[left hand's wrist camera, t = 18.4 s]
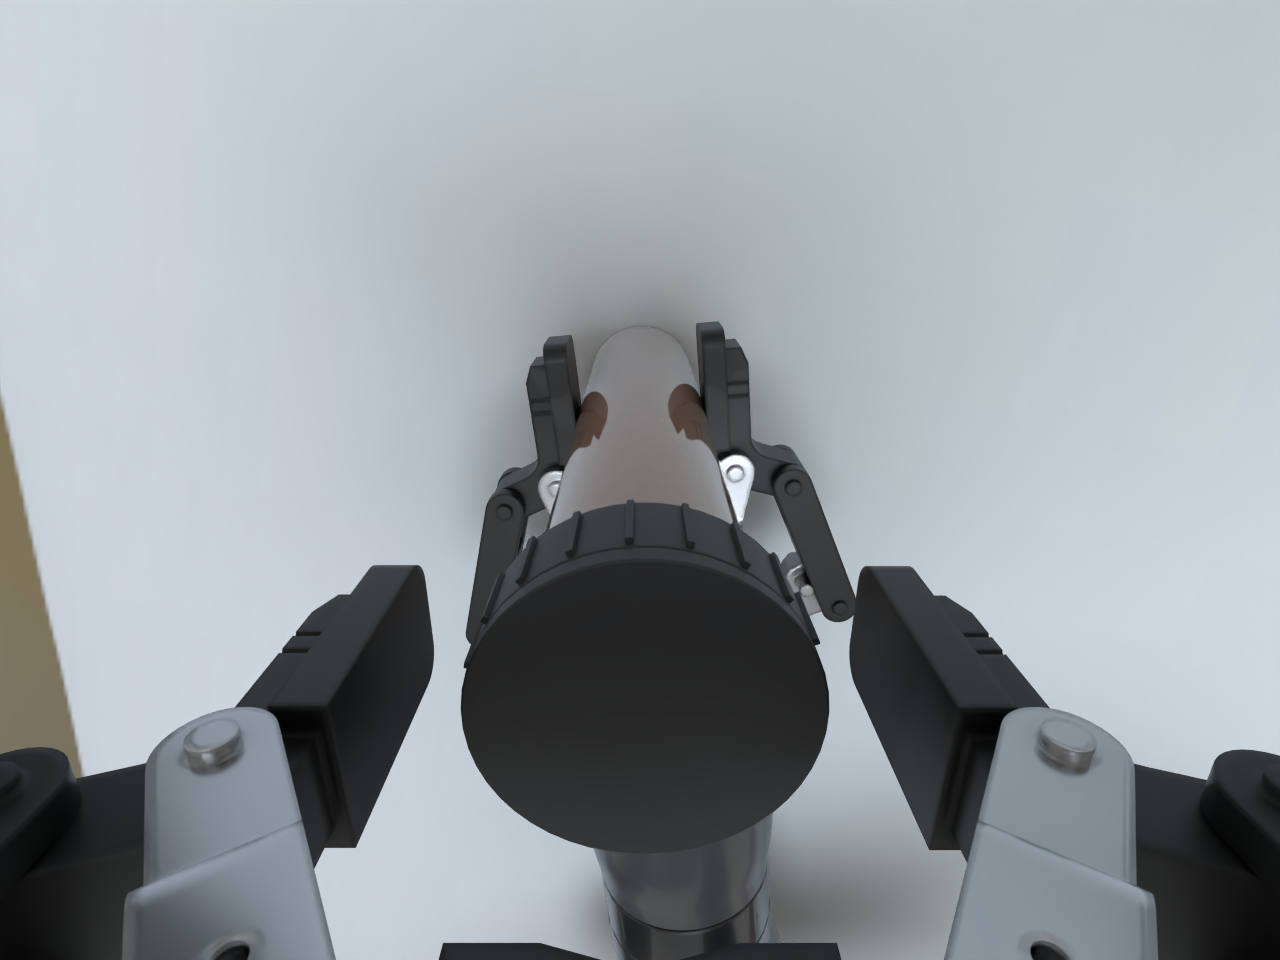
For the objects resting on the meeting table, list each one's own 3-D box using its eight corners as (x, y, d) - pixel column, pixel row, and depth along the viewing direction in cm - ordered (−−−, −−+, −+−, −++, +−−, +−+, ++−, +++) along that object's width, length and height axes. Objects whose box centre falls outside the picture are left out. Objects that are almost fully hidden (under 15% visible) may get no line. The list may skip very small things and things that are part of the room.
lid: (830, 509, 10) (867, 569, 8) (778, 775, 12) (800, 867, 10) (482, 485, 10) (450, 542, 8) (484, 758, 12) (460, 848, 10)
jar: (595, 425, 29) (522, 797, 11) (588, 328, 27) (489, 574, 9) (692, 420, 29) (779, 788, 11) (689, 323, 27) (787, 561, 9)
